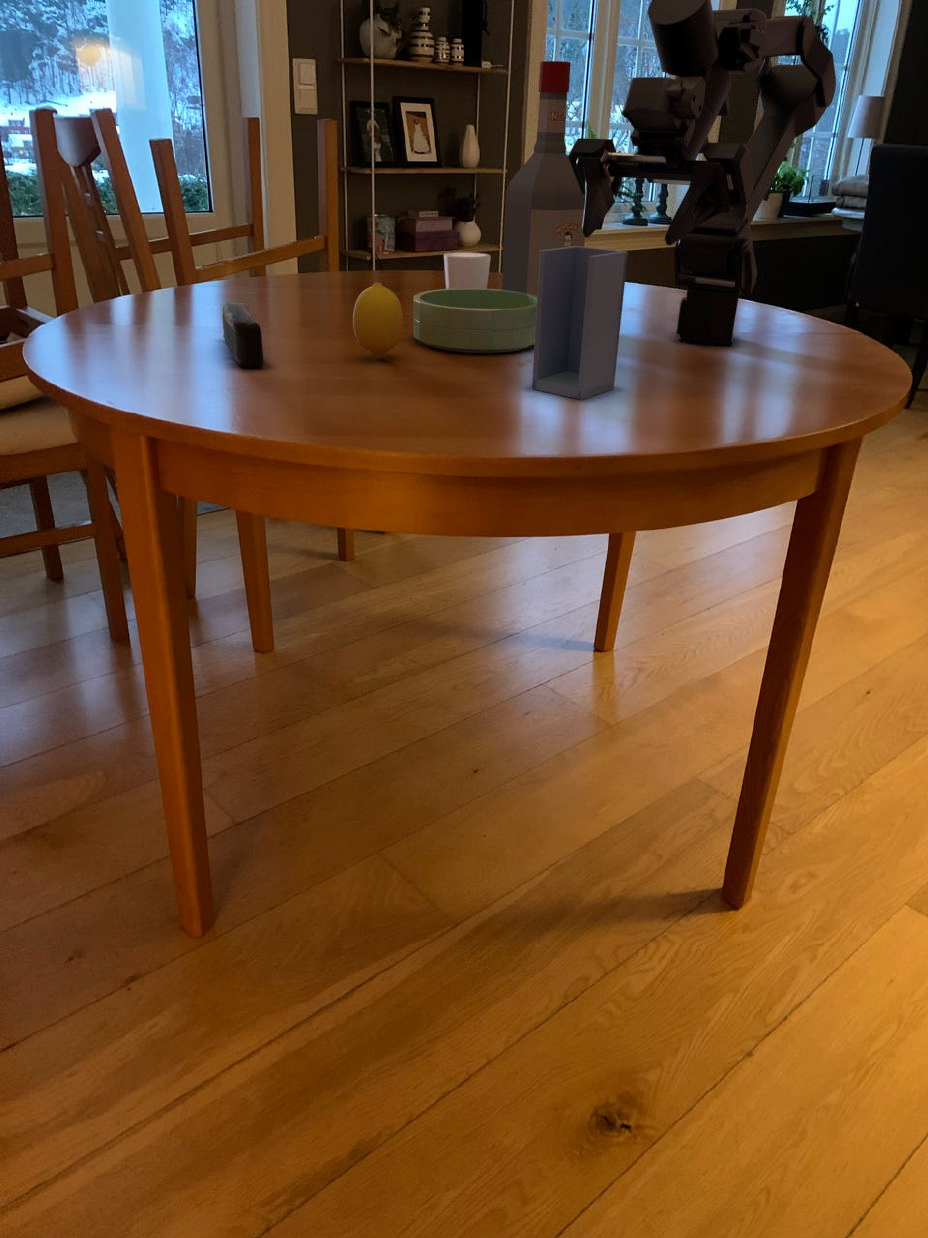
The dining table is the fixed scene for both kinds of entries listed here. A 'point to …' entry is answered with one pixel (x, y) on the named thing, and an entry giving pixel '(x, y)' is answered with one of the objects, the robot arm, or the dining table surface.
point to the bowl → (475, 319)
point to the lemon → (378, 319)
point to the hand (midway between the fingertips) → (624, 238)
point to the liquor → (543, 190)
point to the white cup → (466, 270)
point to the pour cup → (578, 320)
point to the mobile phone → (242, 335)
